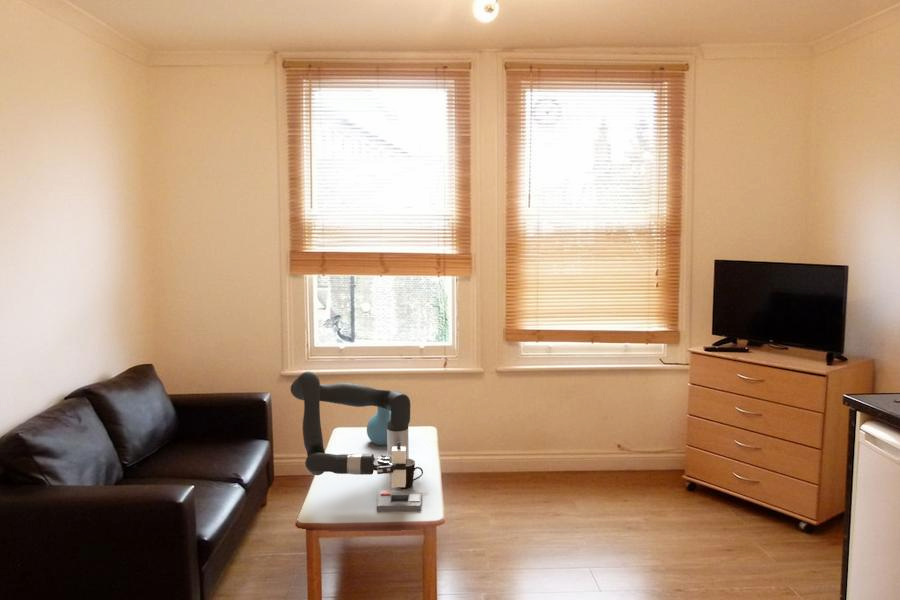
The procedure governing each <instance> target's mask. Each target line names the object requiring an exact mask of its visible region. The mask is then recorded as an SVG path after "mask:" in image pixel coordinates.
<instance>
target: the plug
mask: <svg viewBox="0 0 900 600" xmlns="http://www.w3.org/2000/svg"><path fill="white" fill-rule="evenodd" d="M392 463H395V464H406V447H401V442H397V447H392ZM405 485H406V469H405V470H395V471H393V473H391V488H397V487H405Z"/></svg>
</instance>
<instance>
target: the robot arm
mask: <svg viewBox="0 0 900 600" xmlns="http://www.w3.org/2000/svg"><path fill="white" fill-rule="evenodd" d="M320 382H321V381H320V378H319V377H318V375H317V374H316V373H314V372H312V371H305V372H302V373H300V375H299V376H298V377H297V378H296V379H295V380H293V382H292V383H291V386H290V393H291V394H292V396H293V397H294V398H295V399H297V400H301V401H303V404H304V405H303V406H304V407H303V409H304V410H303V418H302V436H303V444H304V448H305V451H306V459H305V463H304V464H305V467H306V470H307V471H309V473H311V474H312V475H314V476H321V475H323V474H324V473H327V472H328V473H333V474H337V475H339V474H341V475H357V476H358V475H362V476H363V475H365V476H366V475H367V476H368V475H373V474H374V471H376V473H377V475H385V474H392V473H393V471H395V470H405V469H406V464H407V459H410V458H409V457H410V455H409V452H410V451H409V449H410V448H409V425H410V422H411V400H410V398H409V396H408V395H407V394H405V393H404V392H401V391H398V390H395V389H393V390H392V389H391V390H390V389H380V388H379V389H377V388H373V387H370V386H367V385H364V384H363V385H362V384H358V383H352V382H340V383H331V384H328V383H327V384H323V383H320ZM320 402H325V403H332V404H338V405H344V406H350V407H357V408H361V407H362V408H364V407H370V406H371V407H377V408H378V407H381V408H384V409H387V410H389V411H390V412H391V420H390V421H388V423H387V445H386V447H387V448H386V449H387V454H380V457H375V455H374V454H373V453H351V454H347V453H346V454H345V453H344V454H342V453H341V454H333V453H326V452H325V448H324V439H323V431H322V425H321V412H320V411H321V410H320V408H321V407H320V406H321V405H320V404H321V403H320ZM397 442H401V447H406V458H407V459H406V464H395V463H392V447H397Z"/></svg>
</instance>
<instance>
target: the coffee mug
mask: <svg viewBox="0 0 900 600" xmlns="http://www.w3.org/2000/svg"><path fill="white" fill-rule="evenodd" d="M406 459H407V458H406ZM417 469H419V470H420V472H421V474H420V475H419V476H417V477H416V478H414V476H415V475H414V474H415V471H416V470H417ZM423 475H424V470H423V469H422V467H420V466H416V461H415V460H414V459H412V458H409V459H407V464H406V485H405V487H396V488H397V489H399V490H403V491H404V490H409V489H412V488H413V483H414V481H417V480H418V479H420V478H421V477H422V476H423Z"/></svg>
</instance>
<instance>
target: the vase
mask: <svg viewBox="0 0 900 600" xmlns="http://www.w3.org/2000/svg"><path fill="white" fill-rule="evenodd" d="M390 420H391V411H389V410H387V409H384V408H381V407H377V411H376V413H375V414H373V415H372V416H371V417H370V419H369V421H368V422H367V425H366V434H367V437H368V439H369V440H370V441H371V442H372V443H373V444H374V445H378V446H387V423H388V421H390Z"/></svg>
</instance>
